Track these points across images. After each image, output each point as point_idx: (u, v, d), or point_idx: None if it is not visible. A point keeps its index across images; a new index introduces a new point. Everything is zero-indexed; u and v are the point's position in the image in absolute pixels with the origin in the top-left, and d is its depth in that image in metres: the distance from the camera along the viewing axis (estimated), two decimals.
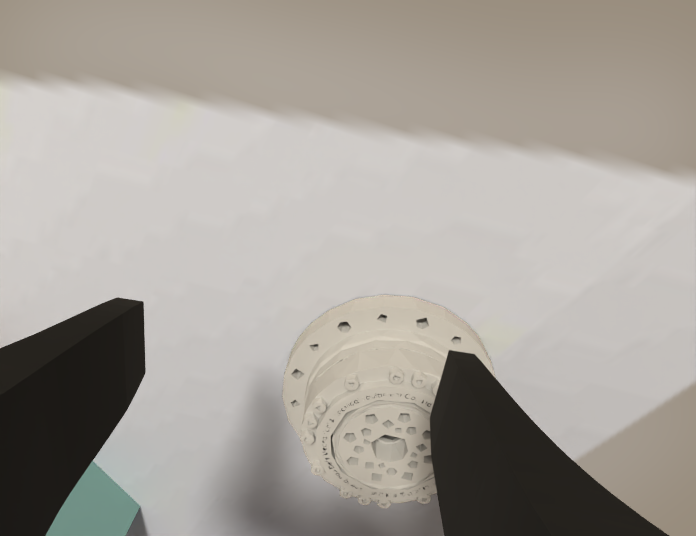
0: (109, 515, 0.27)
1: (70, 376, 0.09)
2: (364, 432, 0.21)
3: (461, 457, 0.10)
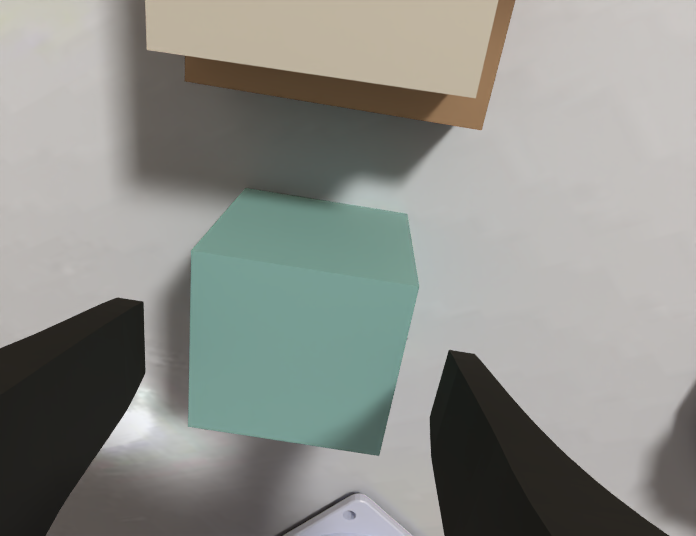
0: None
1: (70, 376, 0.09)
2: None
3: (461, 457, 0.10)
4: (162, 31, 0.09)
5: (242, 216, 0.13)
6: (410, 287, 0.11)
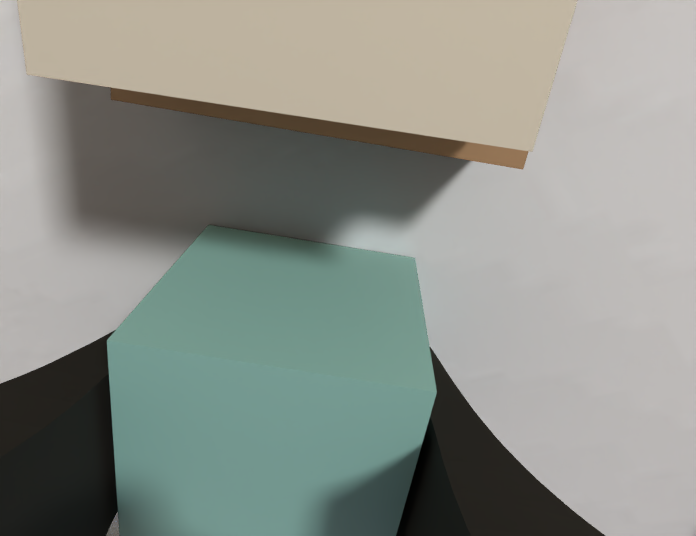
0: None
1: None
2: None
3: None
4: (48, 46, 0.06)
5: (194, 273, 0.10)
6: (424, 392, 0.08)
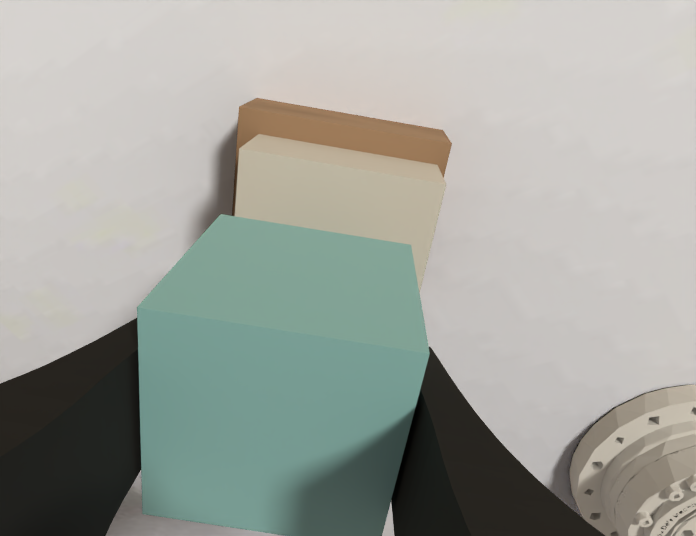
0: None
1: (127, 385, 0.09)
2: None
3: (408, 449, 0.10)
4: None
5: (210, 253, 0.11)
6: (418, 354, 0.09)
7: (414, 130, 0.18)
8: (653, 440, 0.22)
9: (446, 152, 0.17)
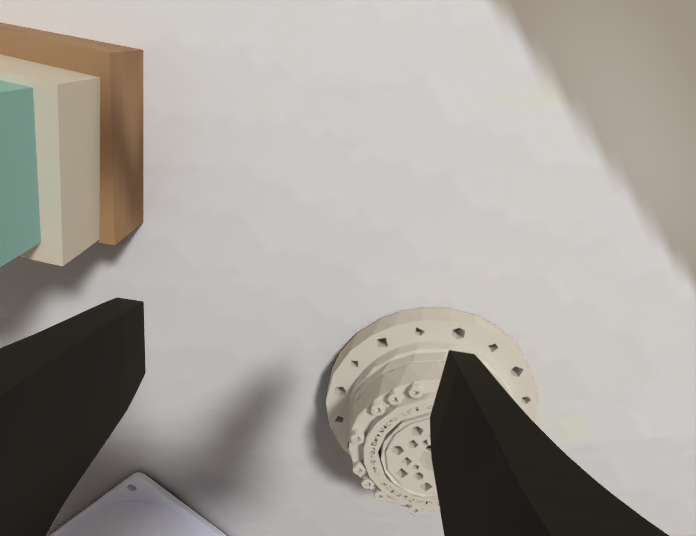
0: (2, 219, 0.15)
1: (70, 376, 0.09)
2: None
3: (461, 457, 0.10)
4: None
5: None
6: None
7: (95, 44, 0.18)
8: (381, 362, 0.22)
9: (106, 61, 0.17)
